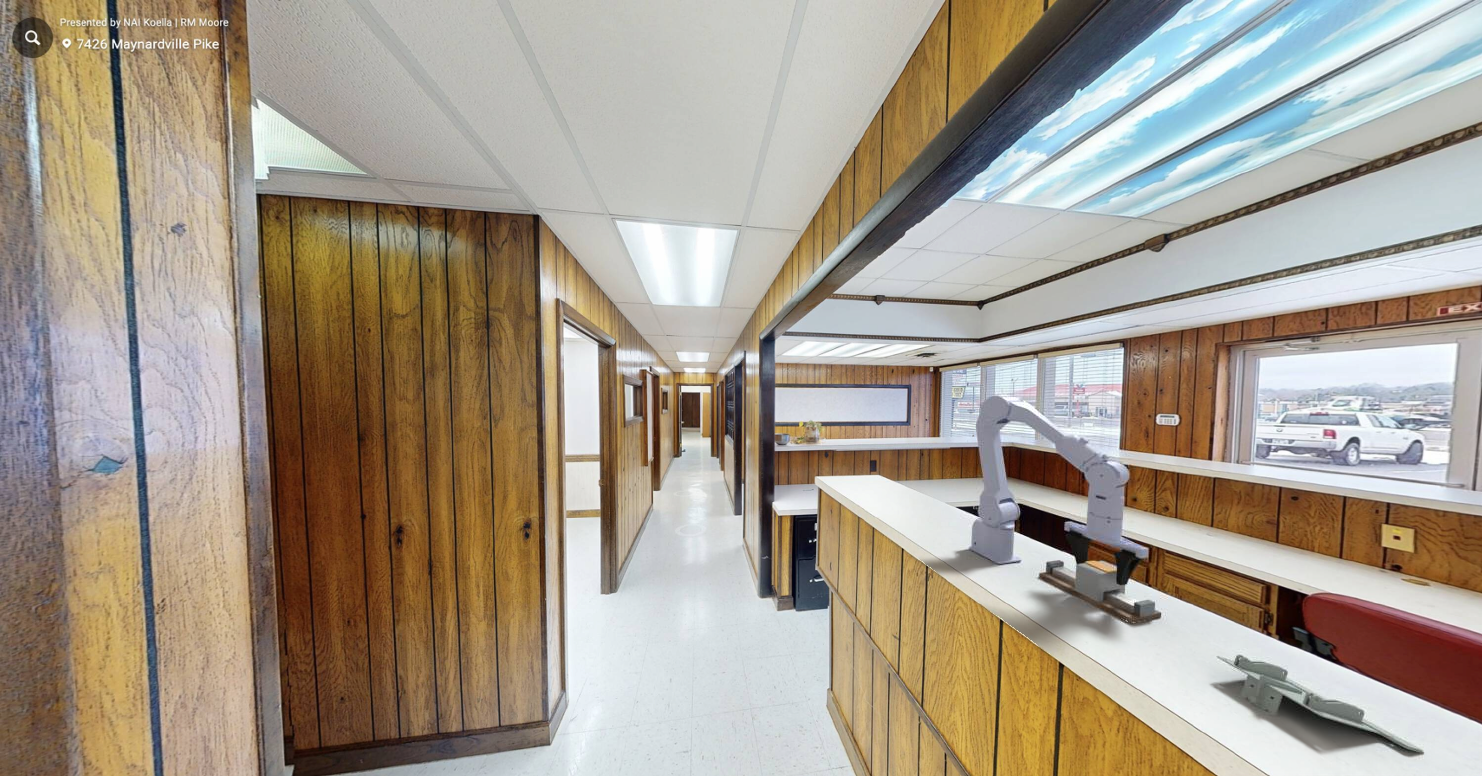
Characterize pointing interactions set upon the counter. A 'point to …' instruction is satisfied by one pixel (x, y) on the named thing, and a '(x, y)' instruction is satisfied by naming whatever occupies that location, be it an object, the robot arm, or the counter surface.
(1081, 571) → the block
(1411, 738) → the counter surface
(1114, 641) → the counter surface
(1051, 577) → the mounting plate
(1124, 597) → the din rail
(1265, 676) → the metal bracket
